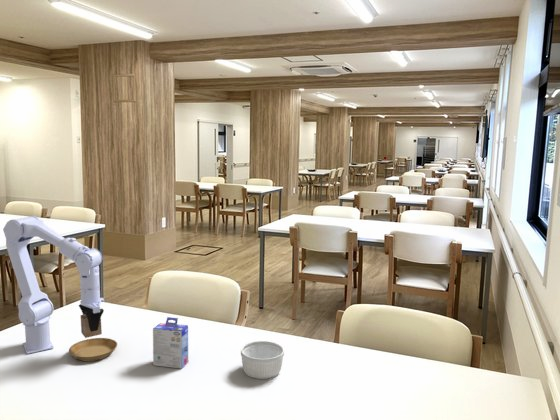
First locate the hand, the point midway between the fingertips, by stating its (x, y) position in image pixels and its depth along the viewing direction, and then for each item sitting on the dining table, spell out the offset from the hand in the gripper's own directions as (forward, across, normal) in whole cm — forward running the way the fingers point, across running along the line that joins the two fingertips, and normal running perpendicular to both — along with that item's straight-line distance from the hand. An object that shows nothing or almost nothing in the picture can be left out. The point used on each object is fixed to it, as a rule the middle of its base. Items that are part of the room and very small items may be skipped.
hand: (91, 327), depth 152 cm
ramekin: (+9, -40, -40) cm, 57 cm away
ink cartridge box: (+9, -21, -18) cm, 29 cm away
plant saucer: (+9, 0, 0) cm, 9 cm away
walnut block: (+2, 0, 0) cm, 2 cm away
